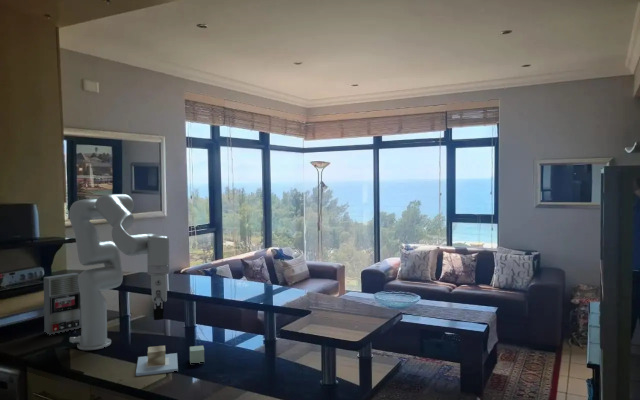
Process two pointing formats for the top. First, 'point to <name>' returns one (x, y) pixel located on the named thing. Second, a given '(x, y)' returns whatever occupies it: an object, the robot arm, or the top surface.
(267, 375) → the top surface
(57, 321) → the cassette tape recorder
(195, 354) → the sage block
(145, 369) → the board
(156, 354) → the birch block
